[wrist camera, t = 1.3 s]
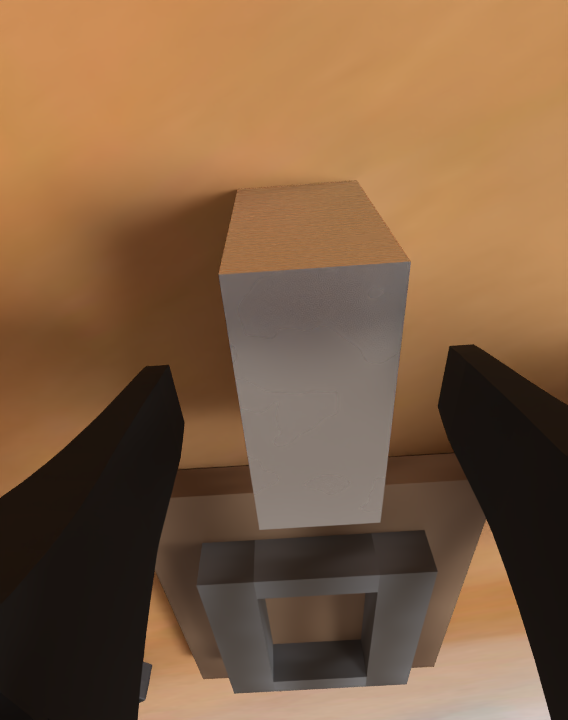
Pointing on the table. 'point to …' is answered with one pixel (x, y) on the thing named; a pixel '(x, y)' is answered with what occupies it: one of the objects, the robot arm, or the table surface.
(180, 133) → the table surface
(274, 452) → the gray rectangular block
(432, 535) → the slot stand
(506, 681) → the table surface
